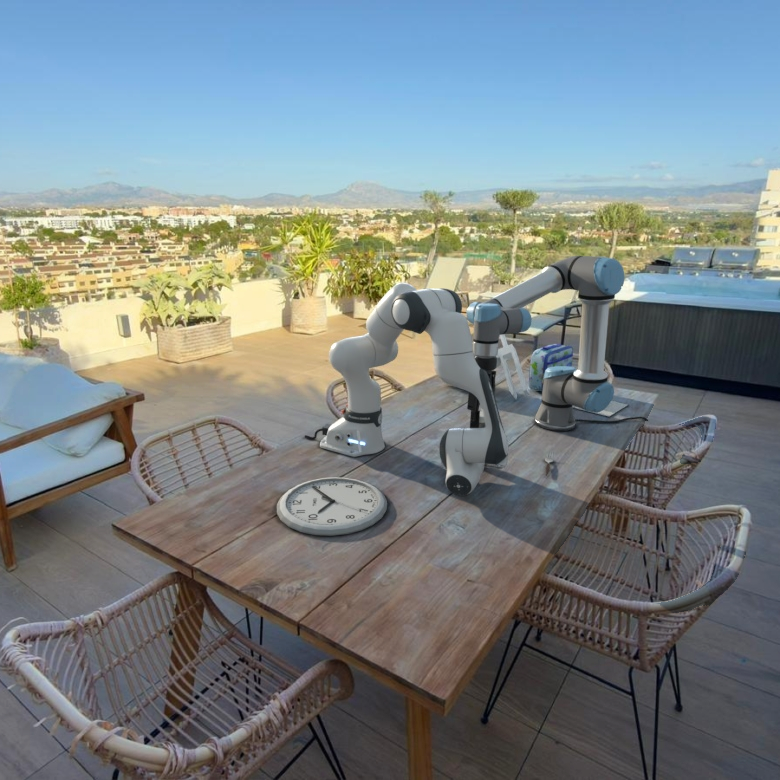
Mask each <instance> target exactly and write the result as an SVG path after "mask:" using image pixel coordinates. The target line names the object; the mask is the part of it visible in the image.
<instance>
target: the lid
mask: <svg viewBox="0 0 780 780" xmlns="http://www.w3.org/2000/svg"><path fill="white" fill-rule="evenodd" d="M479 411H480V419H479V423H484V418H483V414H482V411H481V410H479Z"/></svg>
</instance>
